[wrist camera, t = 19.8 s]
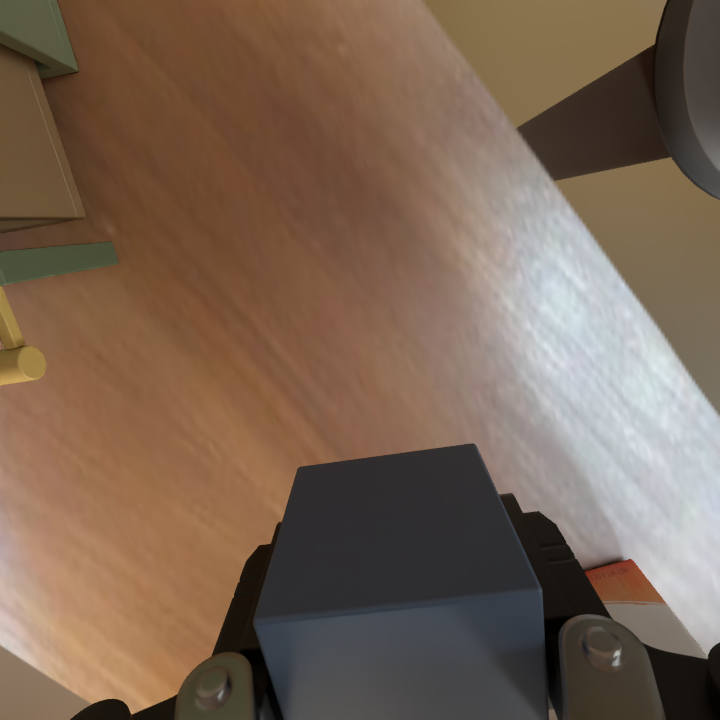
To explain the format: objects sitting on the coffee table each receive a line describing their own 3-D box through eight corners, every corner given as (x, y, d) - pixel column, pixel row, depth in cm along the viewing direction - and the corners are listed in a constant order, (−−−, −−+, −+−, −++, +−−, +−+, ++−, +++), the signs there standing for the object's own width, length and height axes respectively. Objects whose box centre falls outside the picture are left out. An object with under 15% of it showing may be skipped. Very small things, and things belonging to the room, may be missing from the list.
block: (475, 441, 11) (544, 590, 6) (489, 584, 12) (554, 786, 8) (297, 465, 11) (250, 622, 7) (330, 602, 12) (308, 804, 8)
